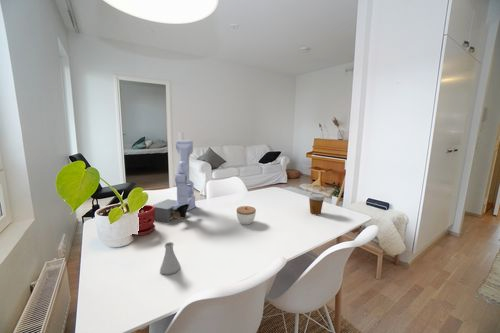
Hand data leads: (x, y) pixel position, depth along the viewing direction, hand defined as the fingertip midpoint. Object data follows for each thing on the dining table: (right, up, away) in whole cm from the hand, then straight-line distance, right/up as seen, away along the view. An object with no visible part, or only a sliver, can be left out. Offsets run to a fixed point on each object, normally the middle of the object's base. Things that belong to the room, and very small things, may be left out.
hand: (183, 217), depth 128 cm
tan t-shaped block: (-7, 0, +3) cm, 7 cm away
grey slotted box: (-10, 0, +4) cm, 11 cm away
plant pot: (-16, -4, -16) cm, 23 cm away
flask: (+9, -9, -45) cm, 47 cm away
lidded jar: (+36, -2, -3) cm, 37 cm away
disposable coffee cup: (+80, -1, +12) cm, 81 cm away
